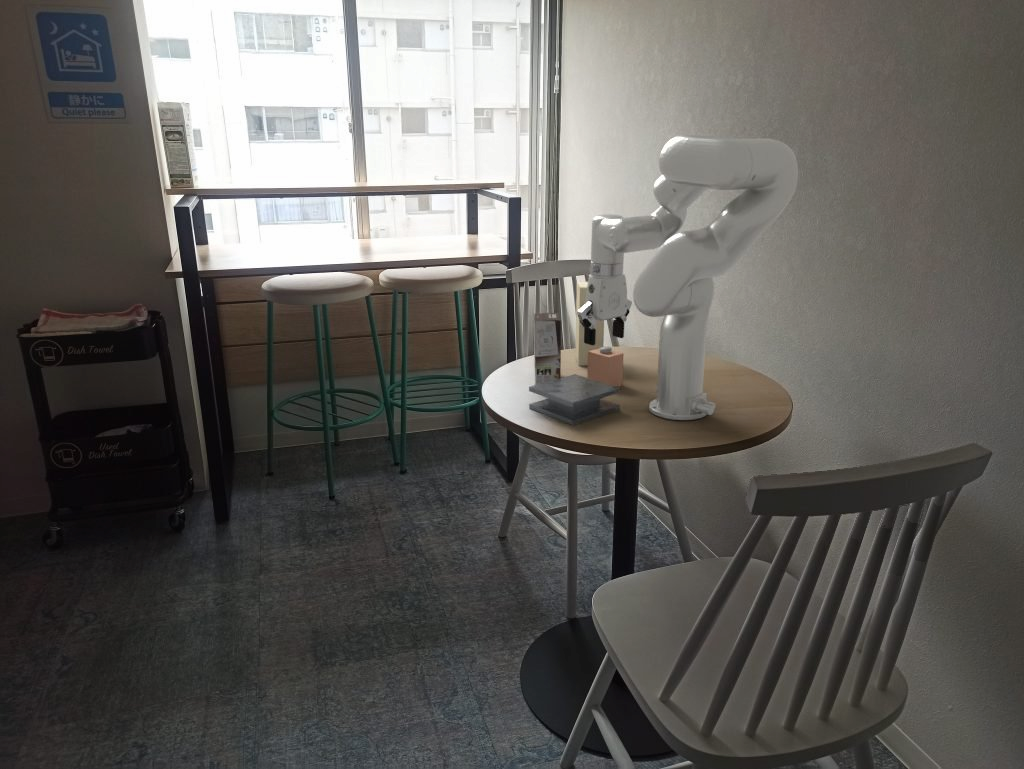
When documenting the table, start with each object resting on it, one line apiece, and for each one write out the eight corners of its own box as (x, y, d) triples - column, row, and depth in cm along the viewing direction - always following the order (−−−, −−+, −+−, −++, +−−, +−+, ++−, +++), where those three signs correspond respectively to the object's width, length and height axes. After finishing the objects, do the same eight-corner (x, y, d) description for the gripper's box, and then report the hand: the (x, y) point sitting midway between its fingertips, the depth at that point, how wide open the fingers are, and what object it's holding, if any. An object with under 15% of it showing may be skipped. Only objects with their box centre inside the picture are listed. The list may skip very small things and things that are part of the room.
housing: (622, 385, 175) (623, 349, 172) (608, 389, 172) (609, 353, 169) (601, 378, 180) (602, 343, 177) (587, 382, 177) (587, 347, 174)
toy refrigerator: (606, 365, 191) (607, 286, 184) (578, 366, 191) (579, 287, 184) (602, 357, 198) (603, 281, 192) (575, 357, 198) (576, 281, 192)
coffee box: (561, 385, 176) (561, 320, 171) (534, 385, 176) (534, 320, 171) (559, 373, 184) (559, 311, 179) (534, 374, 185) (533, 312, 180)
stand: (619, 409, 158) (619, 388, 157) (572, 425, 150) (573, 402, 149) (575, 394, 169) (575, 374, 167) (529, 408, 160) (529, 386, 159)
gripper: (591, 276, 160) (589, 350, 165) (644, 267, 170) (640, 337, 176) (568, 271, 165) (566, 343, 171) (620, 263, 175) (617, 331, 181)
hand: (604, 340), depth 173 cm, fingers open, 9 cm apart
